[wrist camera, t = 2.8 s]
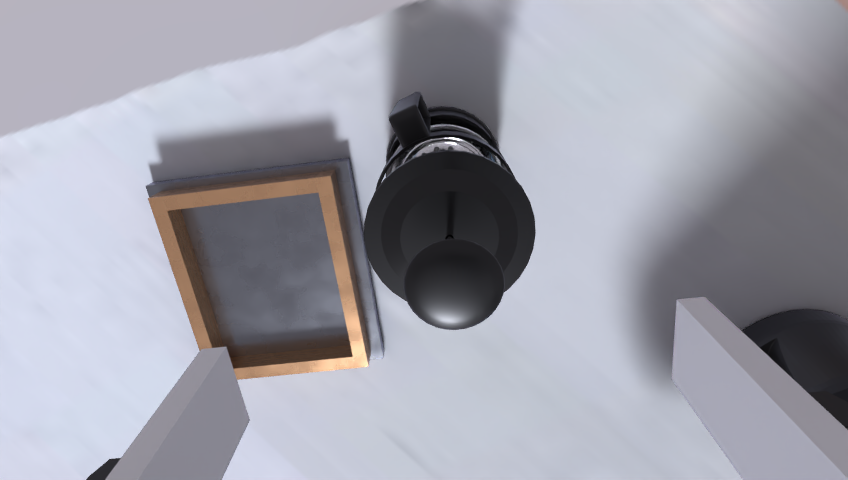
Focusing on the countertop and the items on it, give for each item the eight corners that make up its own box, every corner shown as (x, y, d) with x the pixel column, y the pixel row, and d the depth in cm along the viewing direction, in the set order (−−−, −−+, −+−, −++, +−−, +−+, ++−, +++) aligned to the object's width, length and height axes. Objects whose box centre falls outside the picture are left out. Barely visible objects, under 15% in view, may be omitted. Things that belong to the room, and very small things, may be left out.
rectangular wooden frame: (349, 157, 42) (342, 166, 39) (384, 350, 49) (381, 371, 46) (152, 182, 43) (132, 192, 40) (214, 367, 50) (200, 388, 47)
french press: (518, 197, 43) (605, 351, 22) (419, 240, 44) (407, 423, 23) (464, 65, 39) (503, 92, 18) (357, 117, 41) (274, 199, 19)
